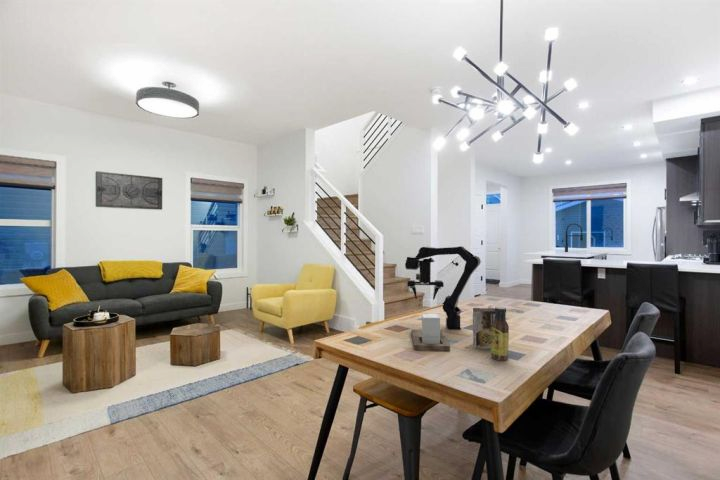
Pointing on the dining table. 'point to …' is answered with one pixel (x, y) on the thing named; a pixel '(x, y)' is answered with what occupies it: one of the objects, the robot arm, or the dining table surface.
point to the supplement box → (430, 329)
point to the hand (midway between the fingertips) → (424, 299)
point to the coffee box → (482, 327)
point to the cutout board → (431, 347)
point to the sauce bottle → (500, 335)
